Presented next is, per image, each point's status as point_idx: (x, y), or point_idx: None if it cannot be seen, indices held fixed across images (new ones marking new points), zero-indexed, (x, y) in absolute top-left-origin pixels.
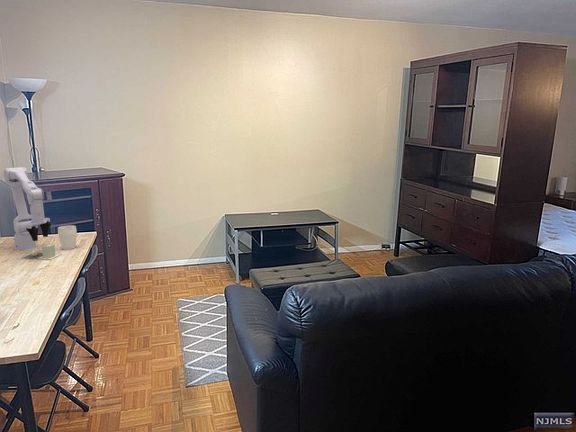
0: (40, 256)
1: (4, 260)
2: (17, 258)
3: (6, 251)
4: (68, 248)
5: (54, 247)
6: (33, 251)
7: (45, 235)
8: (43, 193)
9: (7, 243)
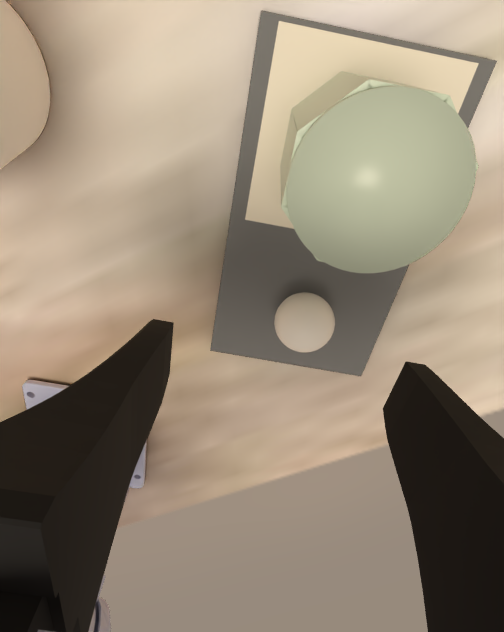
0: None
1: (373, 448)
2: (336, 399)
3: (175, 502)
4: (24, 34)
5: (365, 77)
6: (326, 333)
7: (166, 356)
8: None
9: None
